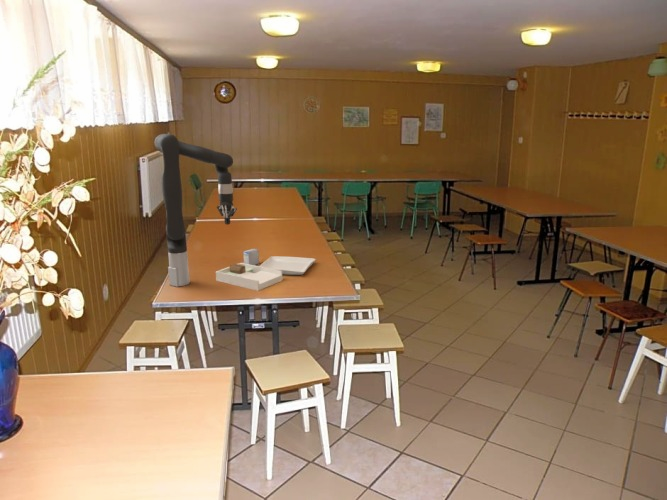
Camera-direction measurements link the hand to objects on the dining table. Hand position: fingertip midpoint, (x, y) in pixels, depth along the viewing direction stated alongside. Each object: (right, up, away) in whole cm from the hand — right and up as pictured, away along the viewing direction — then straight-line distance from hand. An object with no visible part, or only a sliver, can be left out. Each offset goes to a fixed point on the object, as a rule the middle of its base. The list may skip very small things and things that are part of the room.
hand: (227, 224), depth 279 cm
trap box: (+13, -30, -7) cm, 33 cm away
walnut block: (+6, -26, -3) cm, 26 cm away
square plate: (+31, -25, +13) cm, 42 cm away
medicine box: (+10, -23, +21) cm, 32 cm away
